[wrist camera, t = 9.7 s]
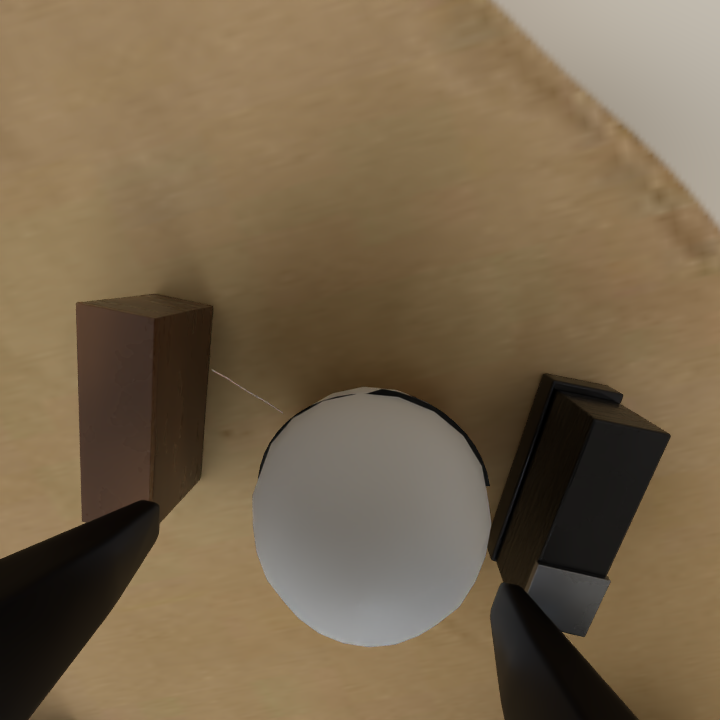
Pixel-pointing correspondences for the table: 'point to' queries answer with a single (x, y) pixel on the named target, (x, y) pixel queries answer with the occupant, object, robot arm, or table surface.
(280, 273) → the table surface
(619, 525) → the stapler
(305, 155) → the table surface
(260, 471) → the seamed sphere
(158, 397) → the brown rectangular block
